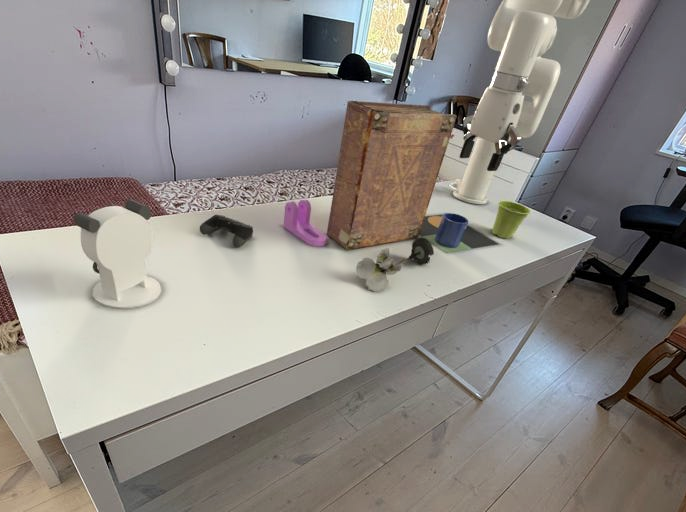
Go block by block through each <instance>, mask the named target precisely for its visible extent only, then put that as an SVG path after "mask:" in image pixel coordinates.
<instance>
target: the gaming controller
mask: <svg viewBox="0 0 686 512" xmlns="http://www.w3.org/2000/svg"><path fill="white" fill-rule="evenodd" d="M198 228H199V232H200V234H202V235H204V236H205V235H206V236H207V235H211V234H212V233H215V232H217V231H219V230H221V231H224V232H227V233H230V234H231V235H232V234H233V235H234V236H233V238H232V245H233V246H234V247H235V248H241V247H242V246H244V245H245V244H246V243H247V242H248V240H250V239H252V238H253V236H254V227H253V226H252V225H250V224H246V223H244V222H241V221H239V220H236V219H233V218H231V217H230V218H229V217H227V216H226V215H222V214H214V215H213V216H211V217H210V218H207V219H206V220H205V221H203V222H202V223H201V224H200V225H199V227H198Z"/></svg>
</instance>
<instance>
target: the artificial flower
mask: <svg viewBox="0 0 686 512" xmlns="http://www.w3.org/2000/svg"><path fill="white" fill-rule="evenodd" d="M410 250H411V252H410V255H409V256H408V257H407V258H403V259H402V260H401V261H399V262H397V263H394V258H393V257H392V258H389V256H390V248H389V247H385V248H384V249H381V250H380V252H379V253H378V255H377V256H376V262H374V260H373V259H372V258H370V257H363V258H362V259H361V260H359V261H358V262H357V264H356V266H355V267H356V268H355V270H356V273H357V277H358V278H359V279H362V280H365V286H366V287H367V289H368V290H369V291H373V292H375V293H377V292H381V291H382V290H383V289H384V288H387V287H388V285H389V279H388V277H387V275H388V276H389V275H391V276H392V275H395V274H397V273H398V272H399V273H400V272H401V271H402V269H403V268H404V262H409V261H410V262H411V261H412V260H413V261H414V262H417V263H419V264H420V265H426V264H427V265H428V264H430V262H431V257H430V256H434V255H435V251H434V250H435V249H434V247H433V244H432V243H431V242H430V241H428V240H427V239H425V238H423V237H418V238H416V239H414V241H413V242H412V244H411V249H410Z"/></svg>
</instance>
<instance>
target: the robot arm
mask: <svg viewBox="0 0 686 512" xmlns="http://www.w3.org/2000/svg"><path fill="white" fill-rule="evenodd" d="M590 1H591V0H502V1H501V3H500V4H499V6H498V8H497V10H496V11H495V14H494V16H493V18H492V20H491V22H490V26H489V28H488V31H487V40H486V41H487V45H488V47H489V48H490V49H491V50H493V51H496V52H500V54H499V57H498V60H497V63H496V65H495V68H494V71H493V73H492V77H491V80H490V83H489V86H487V87H486V88H485V90H484V92H483V93H482V96H481V98H480V100H479V102H478V105H477V107H476V109H475V111H474V114H472V115H468V116H466V117H464V118H463V128H462V134H463V138H462V139H463V141H464V142H463V145H462V147H461V151H460V153H459V157H458V158H459V159H469V160H468V163H467V165H466V169H465V171H464V175H463V177H462V179H460V178H457V179H455V181H453V184H452V185H454V186H456V189H454V190H453V192H452V195H453V197H454V198H456V199H458V200H460V201H462V202H464V203H468V204H473V205H486V204H487V203H488V200H489V199H488V197H487V196H486V194H487V192H488V189H489V186H490V184H491V181H492V179H493V177H494V175H495V172H497V171H498V170H499V167H500V165H501V163H502V160H503V158H504V155H507V154H508V152H510V151H512V150H513V149H514V148H515V146H516V145H517V144H518V143H519V142H520V141H521V139H522V138H524V139H527V138H531V137H532V136H533V135H534V134H535V132H536V131H537V129H538V127H539V125H540V123H541V121H542V118H543V116H544V114H545V112H546V109H547V107H548V104H549V102H550V100H551V97H552V96H553V93H554V91H555V89H556V86H557V84H558V81H559V78H560V75H561V64H560V63H559V62H558V61H557V60H555V59H550V58H545V57H542V56H543V55H544V54H545V53H546V52H547V51H548V50H550V48H551V47H552V45H553V43H554V41H555V39H556V36H557V33H558V26H557V25H558V24H557V19H556V18H563V19H566V20H567V19H568V20H574V19H577V18H579V17H580V16H581V15H582V14H583V12H584V11H585V10H586V9H587V7H588V4H589V3H590ZM555 17H556V18H555ZM526 96H528V97H531V98H532V102H531V101H527V100H524V99H525V97H526ZM476 138H477V139H476ZM475 139H476V141H475Z"/></svg>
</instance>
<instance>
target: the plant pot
mask: <svg viewBox="0 0 686 512" xmlns="http://www.w3.org/2000/svg"><path fill="white" fill-rule="evenodd" d="M531 213H532V211H531V209H530V208H528V207H527V206H525V205H523V204H521V203H518V202H515V201H511V200H500V201H498V207H497V212H496V217H495V220H494V223H493V226H492V229H491V233H492V234H493V235H496V236H497V237H499V238H500V239H501V238H502V239H506V240H507V239H512V238H513V236H514V234H515V233H516V231H517V230H518V228H519V227H520V225H521V224H522V222H523V221H524V219H526V218H527V217H528V215H530V214H531Z"/></svg>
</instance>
